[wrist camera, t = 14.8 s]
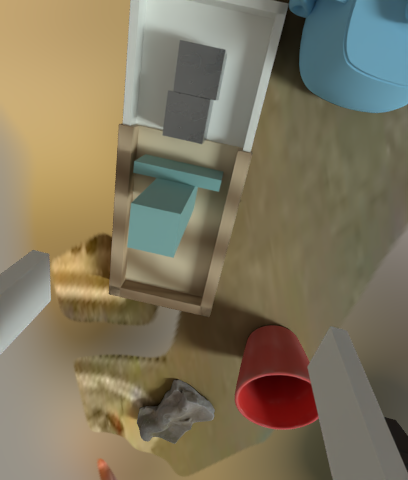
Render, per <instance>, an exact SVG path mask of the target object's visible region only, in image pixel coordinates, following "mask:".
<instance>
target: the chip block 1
mask: <svg viewBox="0 0 408 480" xmlns="http://www.w3.org/2000/svg"><path fill="white" fill-rule="evenodd" d="M226 60H227V53H226V50H225V49H220V48H216V47H211V46H206V45H202V44H197V43H192V42H188V41H183V40H180V43H179V51H178V58H177V66H176V74H175V81H174V89H173V91H175V92H180V93H184V94H189V95H193V96H198V97H203V98H207V99H212V100H219V96H220V90H221V85H222V80H223V75H224V70H225V65H226Z"/></svg>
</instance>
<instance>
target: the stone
mask: <svg viewBox="0 0 408 480" xmlns="http://www.w3.org/2000/svg"><path fill="white" fill-rule="evenodd" d="M214 411H215V410H214V408H213V406H212V404H211V403H210V402H209V401H207V400H206V399H205V398H204V397H203V396H201V395H200V394H199V393H198V392H197V391H196V390H195V389H194V388H192V387H191V386H190V385H188V384H187V383H185V382H183V381H181V380H174V381H173V384H172V386H171V390H170V391H168V392H167V393H165V396H164V398H163V400H162V402H161V403H160V404H159V405H158V406H155V407H152V406H146V407H141V408H140V411H139V414H138V420H137V424H138V427H139V430H140V436H141V438H142V439H143V440H144V441H150V440H151V438H152V437H160V438H163V439H164V440H167V441H169V442H171V443H176V442H177V441H178V440H179V438H181V436H182V435H183V434H184V433H185V432H186V431H188V430H190V429H191V427H192V424H193V423H195V422H202V421H211V420H213V418H214Z"/></svg>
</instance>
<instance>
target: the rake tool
mask: <svg viewBox="0 0 408 480" xmlns="http://www.w3.org/2000/svg"><path fill="white" fill-rule="evenodd" d="M133 173H137V174H141V175H146V176H150V177H155V178H156V179H155V180H154V181H153V182H152V183H151V184H150V185H149V186H148V187H147V188H146V189H145V190H144V191H143V192H142V193H141V194H140V195H139V196H138V197H137V198H136V199H135V200H134V201H133V202H132V203H131V209H130V220H129V232H128V243H127V247H128V248H133V249H137V250H142V251H146V252H150V253H155V254H159V255H164V256H168V257H172V258H174V255H175V253H176V250H177V248H178V246H179V243H180V241H181V238H182V236H183V234H184V231H185V229H186V227H187V224H188V222H189V219H190V217H191V215H192V212H193V210H194V205H195V200H196V195H197V190H198V187H199V188H204V189H208V190H213V191H217V192H219V189H220V185H221V181H222V176H223V171H219V170H214V169H210V168H205V167H201V166H196V165H192V164H187V163H183V162H178V161H174V160H170V159H165V158H161V157H156V156H152V155H147V154H145V155H144V156H142V157H140V158H139V159H137V160H135V161H134V170H133Z"/></svg>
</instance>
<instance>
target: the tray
mask: <svg viewBox="0 0 408 480" xmlns="http://www.w3.org/2000/svg"><path fill="white" fill-rule="evenodd" d="M288 5H289V4H288V3H283V2H279V1H274V0H131V2H130V17H129V32H128V48H127V64H126V79H125V94H124V111H123V125H128V126H132V125H136V124H137V125H142V126H146V127H151V128H155V129H160V130H163V126H164V118H165V110H166V103H167V95H168V90H170V91H173V89H174V81H175V74H176V66H177V58H178V51H179V43H180V40H183V41H188V42H192V43H197V44H202V45H206V46H211V47H216V48H220V49H225V50H226V53H227V60H226V65H225V70H224V75H223V80H222V85H221V90H220V96H219V100H214V102H213V107H212V113H211V118H210V123H209V128H208V133H207V139H206V140H209V141H214V142H219V143H223V144H228V145H232V146H237V147H241V148H243V151H245V152H251V148H252V144H253V140H254V136H255V132H256V129H257V125H258V121H259V117H260V113H261V109H262V105H263V102H264V98H265V94H266V90H267V86H268V82H269V78H270V75H271V71H272V67H273V63H274V59H275V55H276V51H277V48H278V44H279V40H280V36H281V32H282V28H283V24H284V21H285V17H286V13H287V9H288Z"/></svg>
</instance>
